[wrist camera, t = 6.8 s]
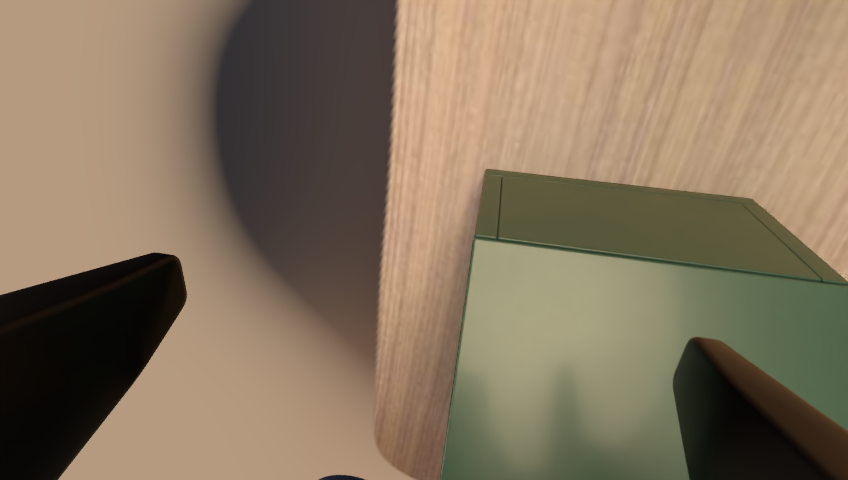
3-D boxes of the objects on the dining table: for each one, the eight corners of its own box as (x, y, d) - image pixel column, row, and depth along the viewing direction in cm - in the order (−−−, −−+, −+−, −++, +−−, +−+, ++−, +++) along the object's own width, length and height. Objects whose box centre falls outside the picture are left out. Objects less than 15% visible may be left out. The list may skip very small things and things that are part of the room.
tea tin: (648, 447, 25) (684, 572, 20) (455, 413, 27) (439, 521, 21) (752, 198, 18) (850, 282, 13) (485, 168, 20) (474, 234, 14)
